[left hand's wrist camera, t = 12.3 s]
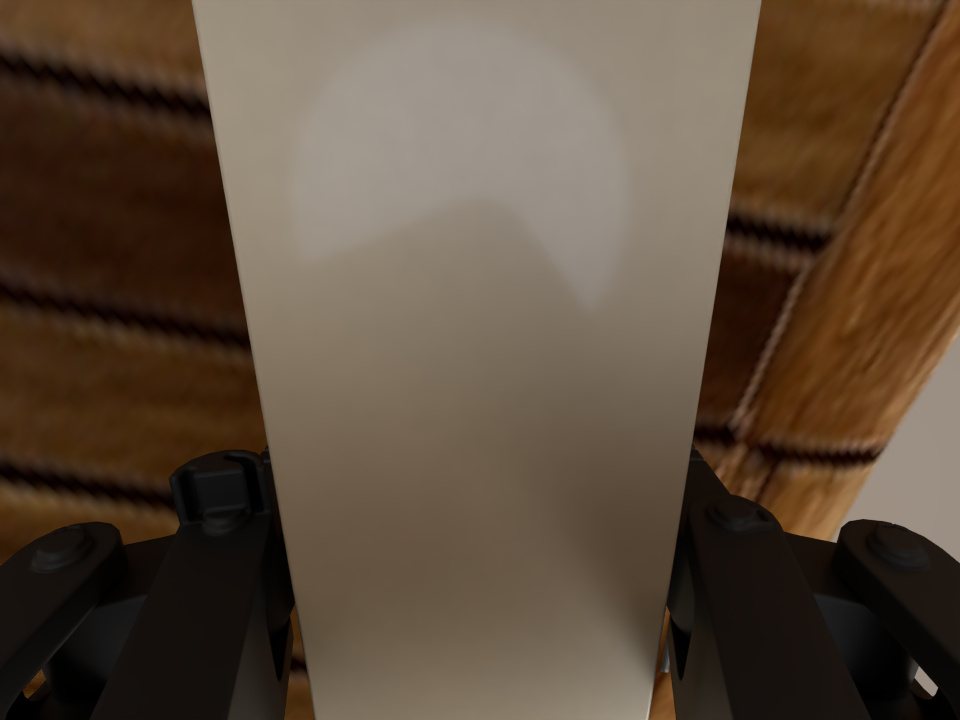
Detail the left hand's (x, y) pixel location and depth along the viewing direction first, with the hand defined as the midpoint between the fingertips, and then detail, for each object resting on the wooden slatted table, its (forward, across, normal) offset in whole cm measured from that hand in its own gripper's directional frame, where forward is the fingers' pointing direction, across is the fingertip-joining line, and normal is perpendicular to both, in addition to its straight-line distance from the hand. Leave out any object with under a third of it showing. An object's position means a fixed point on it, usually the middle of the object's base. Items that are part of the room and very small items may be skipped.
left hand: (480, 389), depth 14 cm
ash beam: (0, 0, -10) cm, 10 cm away
